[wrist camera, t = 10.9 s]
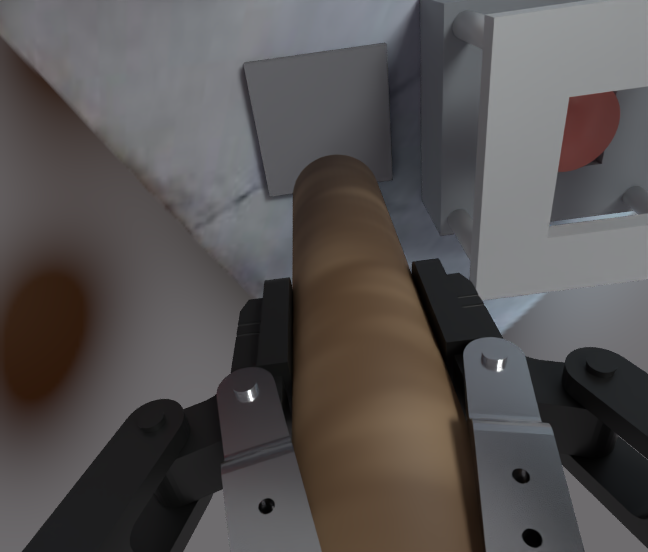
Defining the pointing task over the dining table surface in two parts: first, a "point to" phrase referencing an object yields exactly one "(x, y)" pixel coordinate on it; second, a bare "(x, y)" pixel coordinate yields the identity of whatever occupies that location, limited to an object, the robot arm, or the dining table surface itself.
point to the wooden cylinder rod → (371, 380)
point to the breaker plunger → (588, 129)
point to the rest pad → (321, 111)
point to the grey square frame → (534, 139)
